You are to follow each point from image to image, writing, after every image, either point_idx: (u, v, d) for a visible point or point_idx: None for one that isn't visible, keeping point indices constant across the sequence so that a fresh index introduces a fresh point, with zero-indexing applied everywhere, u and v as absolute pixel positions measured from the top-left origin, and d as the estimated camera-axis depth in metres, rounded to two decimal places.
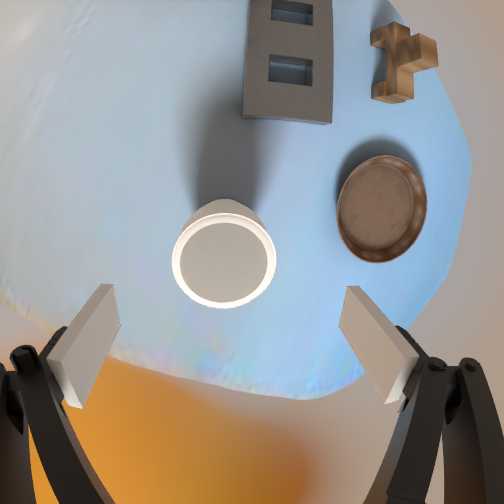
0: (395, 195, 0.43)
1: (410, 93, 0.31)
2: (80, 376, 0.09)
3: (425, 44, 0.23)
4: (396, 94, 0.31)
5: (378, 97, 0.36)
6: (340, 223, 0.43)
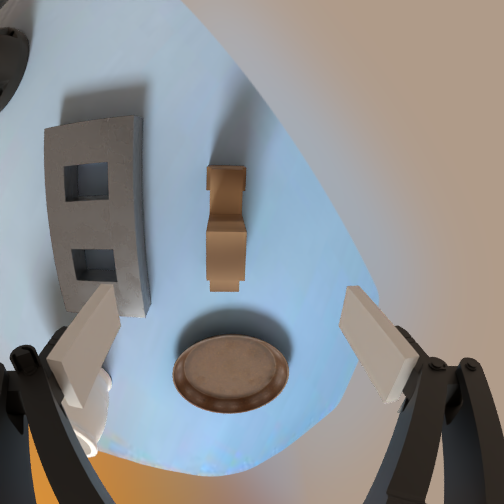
0: (249, 359, 0.42)
1: (233, 285, 0.30)
2: (80, 376, 0.09)
3: (218, 250, 0.22)
4: None
5: None
6: (185, 385, 0.41)
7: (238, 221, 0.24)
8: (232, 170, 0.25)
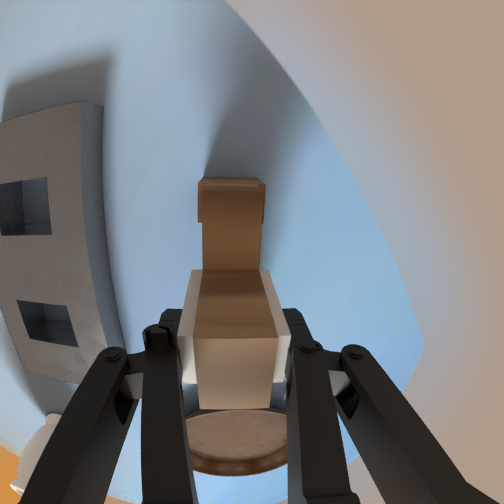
0: (260, 425, 0.30)
1: None
2: None
3: (220, 368, 0.10)
4: None
5: None
6: None
7: (256, 295, 0.13)
8: (243, 192, 0.14)
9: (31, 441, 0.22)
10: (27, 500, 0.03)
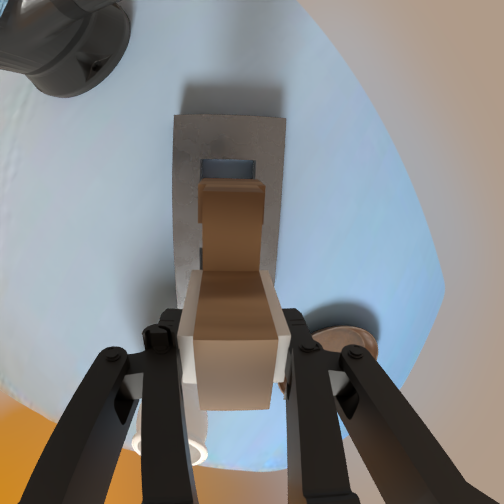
0: None
1: None
2: None
3: (220, 370, 0.10)
4: None
5: None
6: None
7: (256, 297, 0.13)
8: (243, 193, 0.14)
9: None
10: (27, 500, 0.03)
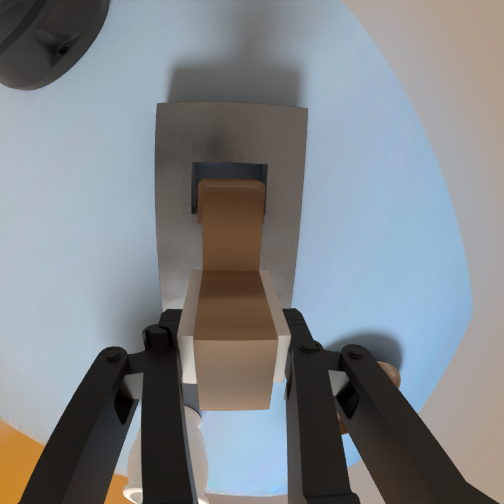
0: None
1: None
2: None
3: (220, 370, 0.10)
4: None
5: None
6: None
7: (256, 297, 0.13)
8: (243, 193, 0.14)
9: None
10: (27, 500, 0.03)
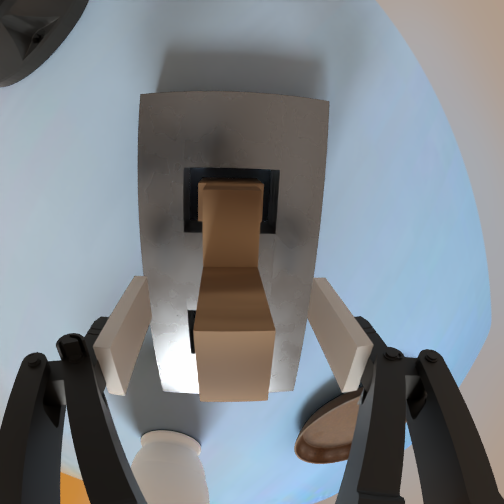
0: None
1: None
2: (123, 363, 0.11)
3: (220, 361, 0.11)
4: None
5: None
6: (300, 444, 0.32)
7: (255, 291, 0.13)
8: (242, 192, 0.14)
9: (139, 467, 0.24)
10: None
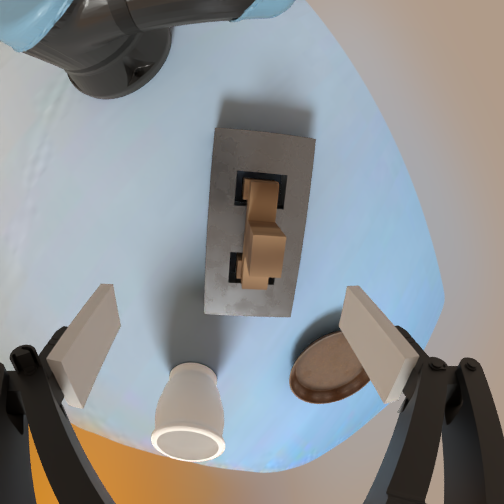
0: (351, 352, 0.47)
1: (262, 284, 0.34)
2: (80, 376, 0.09)
3: (262, 251, 0.26)
4: None
5: None
6: (294, 379, 0.47)
7: (275, 228, 0.29)
8: (270, 184, 0.30)
9: (172, 387, 0.38)
10: None
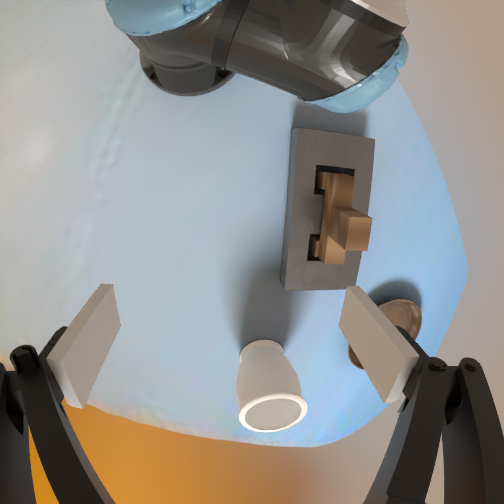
0: (396, 320, 0.53)
1: (340, 259, 0.39)
2: (80, 376, 0.09)
3: (355, 229, 0.31)
4: None
5: None
6: (350, 348, 0.53)
7: (357, 211, 0.34)
8: (348, 176, 0.35)
9: (252, 362, 0.44)
10: None
